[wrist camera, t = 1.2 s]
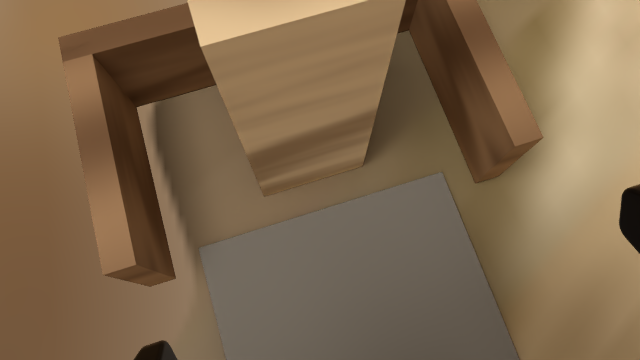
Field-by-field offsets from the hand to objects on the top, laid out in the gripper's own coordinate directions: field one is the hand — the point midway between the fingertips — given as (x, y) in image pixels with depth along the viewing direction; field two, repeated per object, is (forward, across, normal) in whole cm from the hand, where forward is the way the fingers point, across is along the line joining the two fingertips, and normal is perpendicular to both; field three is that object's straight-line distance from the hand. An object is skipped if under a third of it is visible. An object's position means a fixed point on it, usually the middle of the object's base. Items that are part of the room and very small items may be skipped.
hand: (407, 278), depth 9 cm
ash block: (+16, 0, +3) cm, 16 cm away
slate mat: (+9, 0, +10) cm, 13 cm away
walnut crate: (+16, 0, +3) cm, 16 cm away
